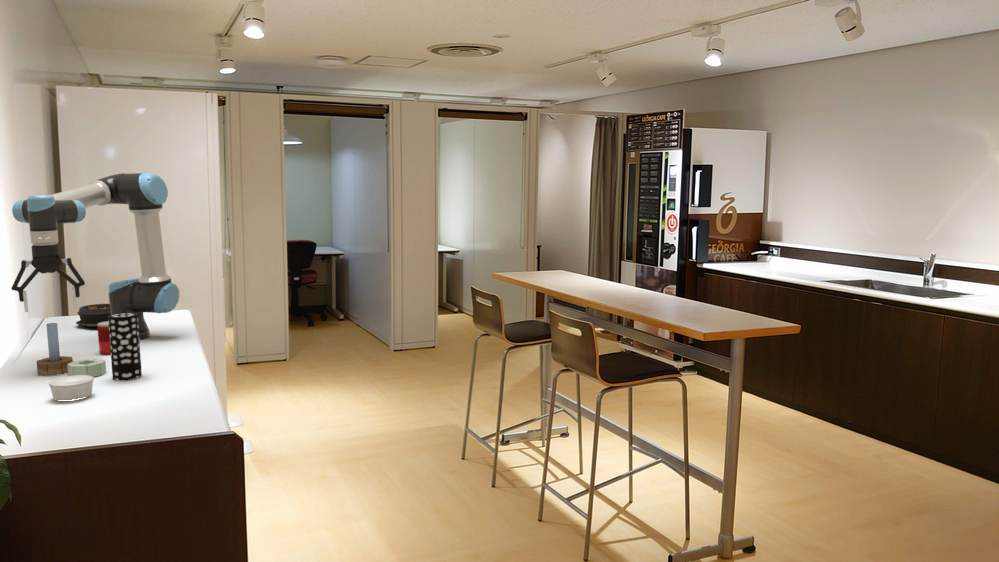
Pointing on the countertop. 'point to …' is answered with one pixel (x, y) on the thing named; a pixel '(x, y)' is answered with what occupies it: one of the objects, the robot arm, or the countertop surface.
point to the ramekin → (71, 387)
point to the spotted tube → (124, 346)
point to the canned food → (104, 338)
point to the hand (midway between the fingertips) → (51, 309)
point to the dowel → (53, 342)
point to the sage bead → (87, 367)
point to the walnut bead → (53, 366)
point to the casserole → (93, 314)
